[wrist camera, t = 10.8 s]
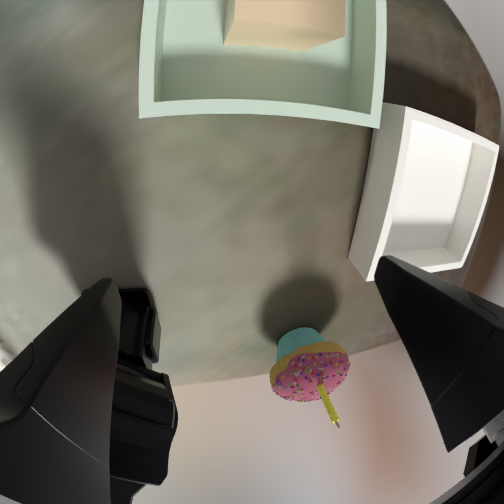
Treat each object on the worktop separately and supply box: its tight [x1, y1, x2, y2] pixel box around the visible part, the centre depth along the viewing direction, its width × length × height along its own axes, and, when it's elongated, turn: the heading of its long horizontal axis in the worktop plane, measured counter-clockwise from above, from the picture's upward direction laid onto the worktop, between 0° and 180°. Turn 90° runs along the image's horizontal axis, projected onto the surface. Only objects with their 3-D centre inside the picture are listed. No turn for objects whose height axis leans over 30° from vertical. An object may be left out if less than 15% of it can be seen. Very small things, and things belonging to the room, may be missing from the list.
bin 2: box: [348, 102, 499, 281], centre depth 20 cm, size 14×14×4 cm
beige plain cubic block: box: [223, 0, 346, 52], centre depth 10 cm, size 5×5×6 cm
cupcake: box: [270, 327, 350, 428], centre depth 25 cm, size 9×8×12 cm
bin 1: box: [139, 0, 386, 129], centre depth 11 cm, size 14×14×4 cm
